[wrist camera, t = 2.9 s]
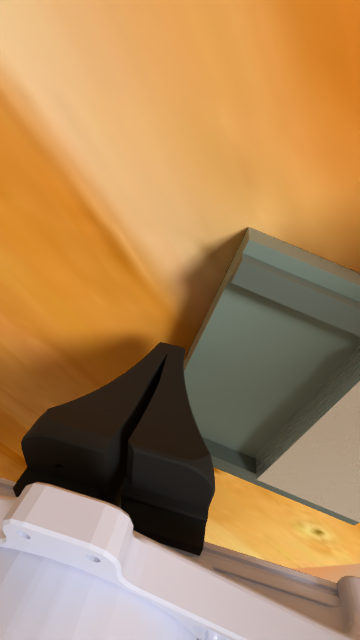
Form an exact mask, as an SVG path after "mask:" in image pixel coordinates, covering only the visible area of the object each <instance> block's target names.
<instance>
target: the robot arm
mask: <svg viewBox="0 0 360 640" xmlns="http://www.w3.org/2000/svg"><path fill="white" fill-rule="evenodd" d="M184 354H185V349H184V348H183V347H179V346H174V345H170V344H166V343H162V342H160V343H159V344H158V345H157V346H156V347H155V348H154V349H153V350H152V351H151V352H150V353H149V354H147V355H146V356H145V357H144V358H143V359H142V360H141V361H140V362H138V363H137V364H136V365H135V366H133V367H132V368H131V369H129V370H128V371H127V372H125V373H124V374H123V375H121V376H120V377H118V378H117V379H115V380H114V381H112V382H110V383H109V384H107V385H105V386H103V387H101V388H100V389H98V390H96V391H94V392H92V393H90V394H87V395H85V396H83V397H81V398H78V399H76V400H73V401H71V402H68V403H65V404H62V405H59V406H56V407H53V408H50V409H48V410H47V411H46V412H45V413H44V414H43V415H42V416H41V417H40V418H39V419H38V420H37V421H36V422H35V424H34V425H33V426H32V427H31V429H30V430H29V431H28V432H27V434H26V435H25V436H24V437H23V439H22V442H21V445H22V451H23V454H24V457H25V461H26V464H27V469H26V470H25V471H24V473H23V474H22V476H21V477H20V478H19V480H18V481H17V482H14V481H11V480H8V479H5V478H1V477H0V640H360V578H359V577H354V576H345V577H342V578H341V579H340V580H339V581H338V582H337V583H334V582H331V581H328V580H325V579H321V578H319V577H315V576H312V575H309V574H306V573H302V572H299V571H296V570H293V569H290V568H287V567H284V566H280V565H277V564H274V563H271V562H268V561H265V560H261V559H258V558H255V557H252V556H249V555H246V554H242V553H239V552H236V551H233V550H230V549H227V548H223V547H220V546H217V545H214V544H211V543H208V542H204V536H205V527H206V522H207V518H208V509H209V506H210V503H211V501H212V498H213V496H214V492H215V477H214V469H213V463H212V458H211V454H210V452H209V450H208V448H207V446H206V444H205V442H204V440H203V438H202V436H201V434H200V431H199V429H198V426H197V424H196V421H195V418H194V416H193V413H192V410H191V407H190V403H189V399H188V395H187V390H186V385H185V378H184V366H183V362H184ZM120 504H121V506H120Z"/></svg>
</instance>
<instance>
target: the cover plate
mask: <svg viewBox="0 0 360 640" xmlns="http://www.w3.org/2000/svg"><path fill="white" fill-rule="evenodd" d="M256 479H257V480H259V481H261V482H264V483H266V484H268V485H271V486H273V487H276V488H278V489H280V490H283V491H285V492H288V493H290V494H292V495H295V496H297V497H300V498H302V499H304V500H307V501H309V502H312V503H314V504H316V505H319V506H321V507H324V508H326V509H328V510H331V511H333V512H336V513H338V514H340V515H343V516H345V517H348V518H350V519H352V520H355V521H357V522H360V344H359V345H358V346H357V347H356V348H355V349H354V350H353V351H352V352H351V354H350V355H349V356H348V357H347V358H346V359H345V360H344V361H343V362H342V363H341V364H340V365H339V366H338V367H337V368H336V370H335V371H334V372H333V373H332V374H331V375H330V376H329V377H328V378H327V379H326V380H325V381H324V382H323V383H322V384H321V385H320V387H319V388H318V389H317V390H316V391H315V392H314V393H313V394H312V395H311V396H310V397H309V398H308V399H307V400H306V401H305V403H304V404H303V405H302V406H301V407H300V408H299V409H298V410H297V411H296V412H295V413H294V414H293V415H292V416H291V417H290V418H289V420H288V421H287V422H286V423H285V424H284V425H283V426H282V427H281V428H280V429H279V430H278V431H277V432H276V433H275V434H274V436H273V437H272V438H271V439H270V440H269V441H268V442H267V443H266V444H265V445H264V446H263V447H262V448H261V449H260V450H259V451H258V453H257V454H256Z"/></svg>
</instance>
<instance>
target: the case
mask: <svg viewBox="0 0 360 640" xmlns="http://www.w3.org/2000/svg"><path fill="white" fill-rule="evenodd" d="M359 344H360V273H357V272H355V271H353V270H350V269H348V268H346V267H343V266H341V265H338V264H336V263H334V262H331V261H329V260H326V259H324V258H322V257H319V256H317V255H314V254H312V253H310V252H307V251H305V250H303V249H300V248H298V247H295V246H293V245H291V244H288V243H286V242H283V241H281V240H279V239H276V238H274V237H271V236H269V235H267V234H264V233H262V232H260V231H257V230H255V229H252V228H250V227H248V229H247V231H246V233H245V235H244V237H243V239H242V241H241V243H240V245H239V248H238V250H237V252H236V254H235V256H234V258H233V260H232V262H231V264H230V266H229V268H228V270H227V273H226V275H225V277H224V279H223V281H222V283H221V285H220V287H219V289H218V291H217V293H216V295H215V297H214V300H213V302H212V304H211V306H210V308H209V310H208V312H207V314H206V316H205V318H204V320H203V322H202V325H201V327H200V329H199V331H198V333H197V335H196V337H195V339H194V341H193V343H192V345H191V347H190V350H189V352H188V354H187V356H186V358H185V360H184V362H183V366H184V378H185V385H186V390H187V395H188V399H189V403H190V407H191V410H192V413H193V416H194V418H195V421H196V424H197V426H198V429H199V431H200V434H201V436H202V438H203V440H204V442H205V444H206V446H207V448H208V450H209V452H210V454H211V458H212V463H213V467H215V468H217V469H220V470H222V471H225V472H227V473H229V474H232V475H234V476H237V477H239V478H241V479H244V480H246V481H249V482H251V483H253V484H256V485H258V486H261V487H263V488H265V489H268V490H270V491H273V492H275V493H277V494H280V495H282V496H285V497H287V498H289V499H292V500H294V501H297V502H299V503H301V504H304V505H306V506H309V507H311V508H314V509H316V510H318V511H321V512H323V513H326V514H328V515H330V516H333V517H335V518H338V519H340V520H342V521H345V522H347V523H350V524H352V525H356V524H357V523H359V522H357V521H355V520H352V519H350V518H348V517H345V516H343V515H340V514H338V513H336V512H333V511H331V510H328V509H326V508H324V507H321V506H319V505H316V504H314V503H312V502H309V501H307V500H304V499H302V498H300V497H297V496H295V495H292V494H290V493H288V492H285V491H283V490H280V489H278V488H276V487H273V486H271V485H268V484H266V483H264V482H261V481H259V480H257V479H256V454H257V453H258V451H259V450H260V449H261V448H262V447H263V446H264V445H265V444H266V443H267V442H268V441H269V440H270V439H271V438H272V437H273V436H274V434H275V433H276V432H277V431H278V430H279V429H280V428H281V427H282V426H283V425H284V424H285V423H286V422H287V421H288V420H289V418H290V417H291V416H292V415H293V414H294V413H295V412H296V411H297V410H298V409H299V408H300V407H301V406H302V405H303V404H304V403H305V401H306V400H307V399H308V398H309V397H310V396H311V395H312V394H313V393H314V392H315V391H316V390H317V389H318V388H319V387H320V385H321V384H322V383H323V382H324V381H325V380H326V379H327V378H328V377H329V376H330V375H331V374H332V373H333V372H334V371H335V370H336V368H337V367H338V366H339V365H340V364H341V363H342V362H343V361H344V360H345V359H346V358H347V357H348V356H349V355H350V354H351V352H352V351H353V350H354V349H355V348H356V347H357V346H358V345H359Z"/></svg>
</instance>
